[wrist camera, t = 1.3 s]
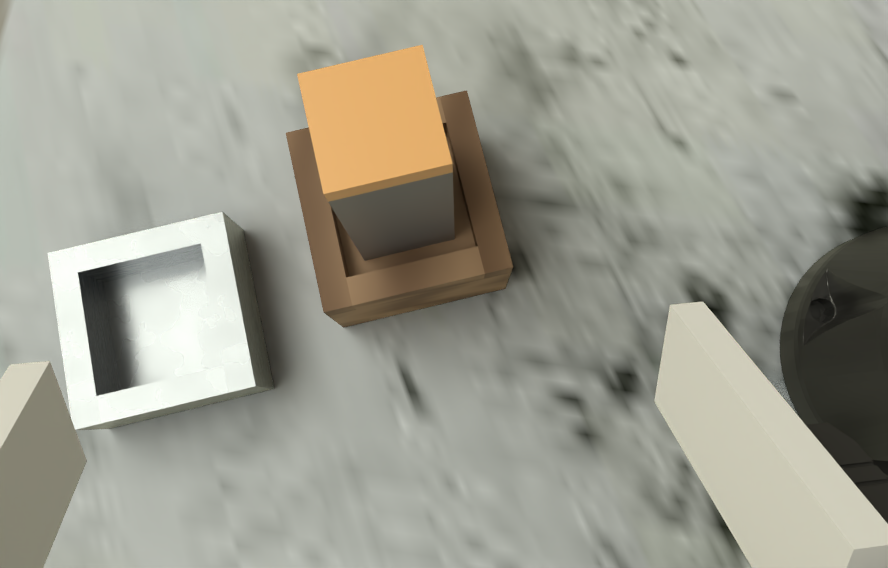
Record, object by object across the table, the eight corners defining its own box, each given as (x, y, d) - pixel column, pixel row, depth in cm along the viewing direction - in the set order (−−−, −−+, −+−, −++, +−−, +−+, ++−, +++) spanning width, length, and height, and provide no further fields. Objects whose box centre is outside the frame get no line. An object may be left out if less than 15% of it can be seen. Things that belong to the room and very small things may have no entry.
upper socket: (465, 136, 45) (466, 90, 39) (505, 288, 44) (513, 267, 37) (310, 172, 45) (285, 132, 39) (343, 327, 43) (323, 312, 37)
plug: (433, 153, 40) (422, 44, 28) (454, 239, 39) (452, 163, 27) (345, 174, 40) (297, 74, 28) (364, 260, 39) (323, 194, 27)
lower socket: (243, 229, 45) (222, 211, 41) (274, 388, 43) (255, 386, 39) (84, 267, 44) (47, 253, 41) (108, 428, 43) (73, 430, 39)
